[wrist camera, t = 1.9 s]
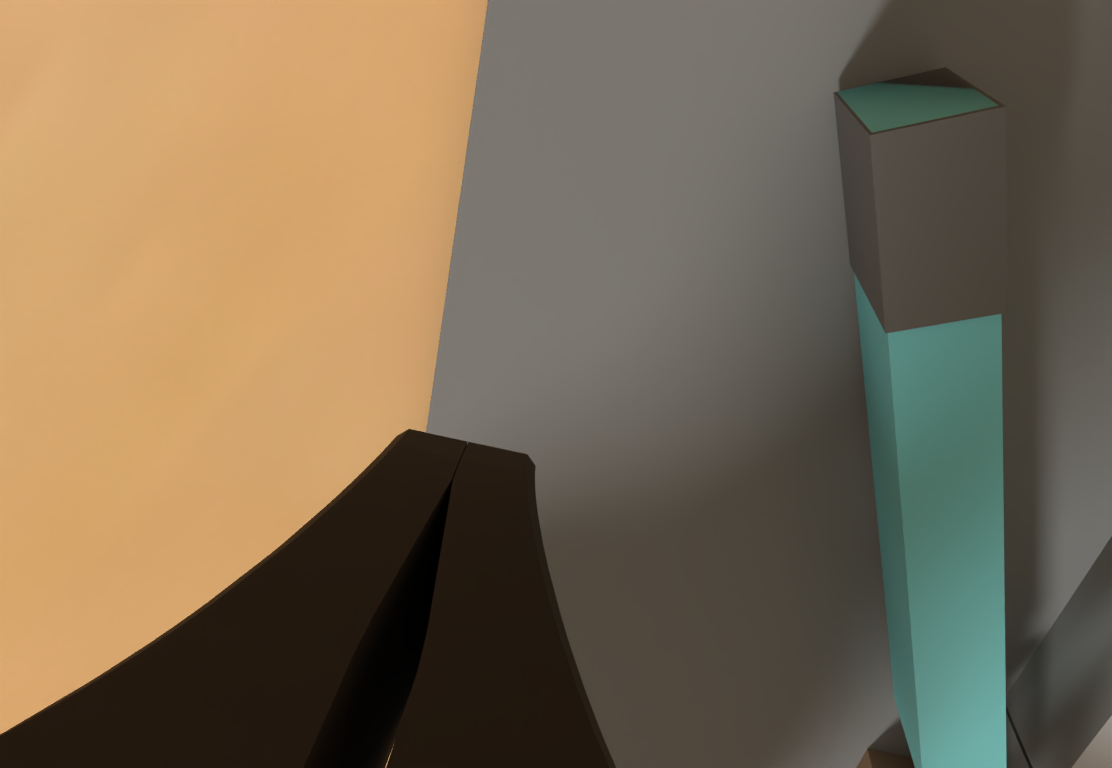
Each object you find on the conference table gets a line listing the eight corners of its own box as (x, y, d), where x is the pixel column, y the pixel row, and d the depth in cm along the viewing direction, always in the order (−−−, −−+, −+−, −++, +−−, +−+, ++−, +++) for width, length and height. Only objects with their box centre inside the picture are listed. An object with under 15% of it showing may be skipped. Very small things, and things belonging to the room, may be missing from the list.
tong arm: (969, 691, 20) (1010, 797, 18) (892, 698, 21) (923, 804, 18) (945, 67, 14) (1005, 105, 12) (833, 92, 14) (869, 135, 12)
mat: (1047, 850, 24) (1054, 868, 23) (388, 714, 24) (383, 730, 23) (1757, -36, 13) (1797, -33, 12) (538, -315, 13) (534, -321, 12)
